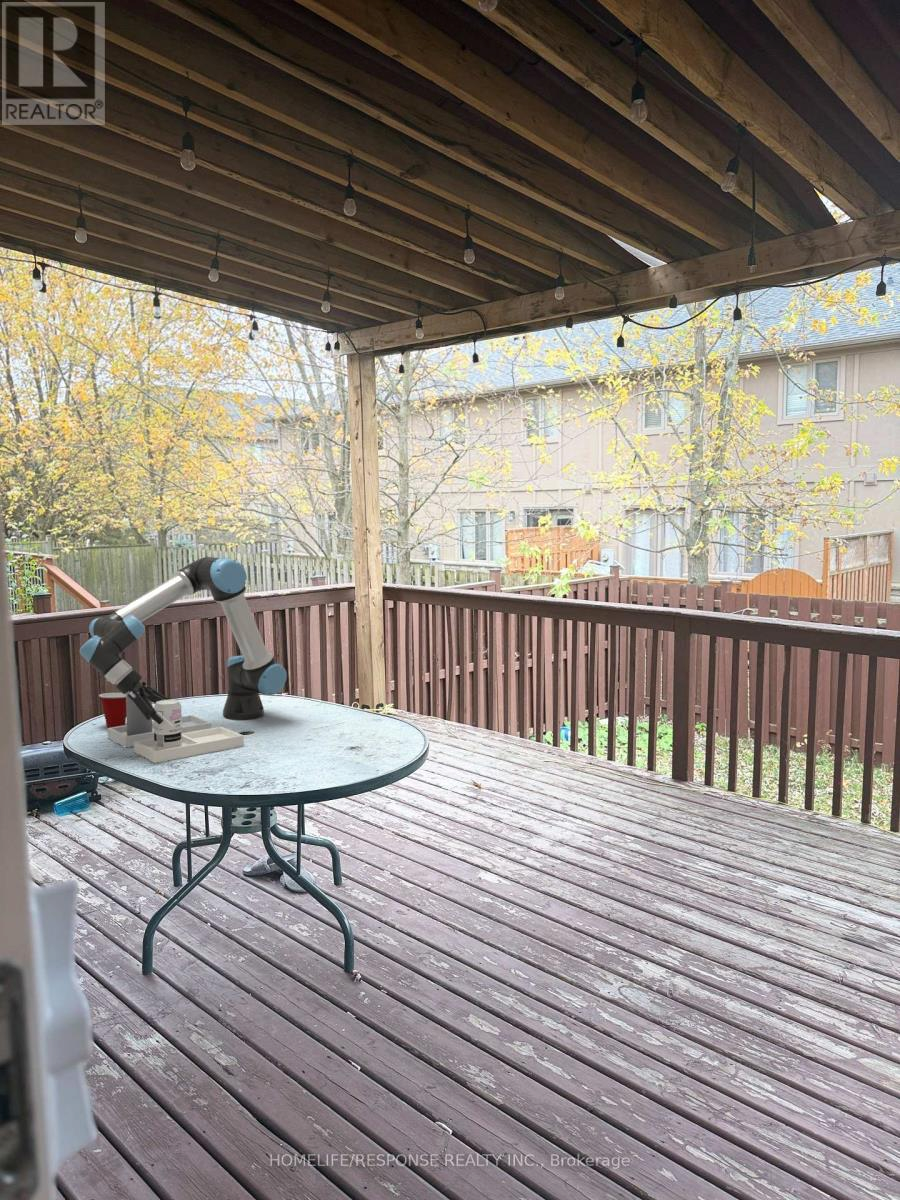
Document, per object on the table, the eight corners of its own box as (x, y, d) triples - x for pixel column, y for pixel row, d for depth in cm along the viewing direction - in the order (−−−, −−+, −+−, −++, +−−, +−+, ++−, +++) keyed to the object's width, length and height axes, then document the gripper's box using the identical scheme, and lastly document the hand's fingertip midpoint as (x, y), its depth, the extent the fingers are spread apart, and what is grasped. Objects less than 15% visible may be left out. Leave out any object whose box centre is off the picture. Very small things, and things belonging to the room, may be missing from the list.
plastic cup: (138, 723, 288) (137, 691, 287) (123, 731, 277) (122, 697, 276) (109, 722, 289) (108, 689, 288) (93, 729, 278) (92, 696, 277)
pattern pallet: (192, 724, 289) (191, 679, 287) (211, 732, 278) (211, 685, 276) (107, 738, 268) (106, 690, 267) (125, 747, 257) (124, 697, 256)
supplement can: (158, 745, 256) (157, 699, 254) (184, 744, 257) (184, 699, 255) (151, 752, 248) (150, 704, 246) (178, 752, 248) (177, 704, 247)
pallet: (221, 736, 273) (221, 726, 273) (243, 745, 262) (243, 735, 262) (134, 752, 252) (134, 741, 252) (154, 763, 241) (154, 752, 241)
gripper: (125, 678, 260) (174, 722, 264) (103, 694, 236) (157, 743, 239) (142, 662, 261) (190, 706, 264) (122, 676, 236) (175, 725, 239)
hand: (174, 724), depth 252 cm, fingers open, 13 cm apart
